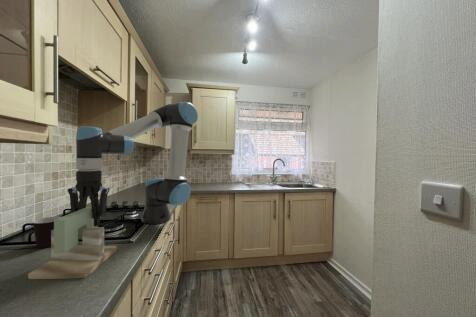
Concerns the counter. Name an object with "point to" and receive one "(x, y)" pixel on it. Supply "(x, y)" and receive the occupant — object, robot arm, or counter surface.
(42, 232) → the coffee mug
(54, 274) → the slotted base
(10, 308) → the counter surface
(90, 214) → the sage slotted plate
